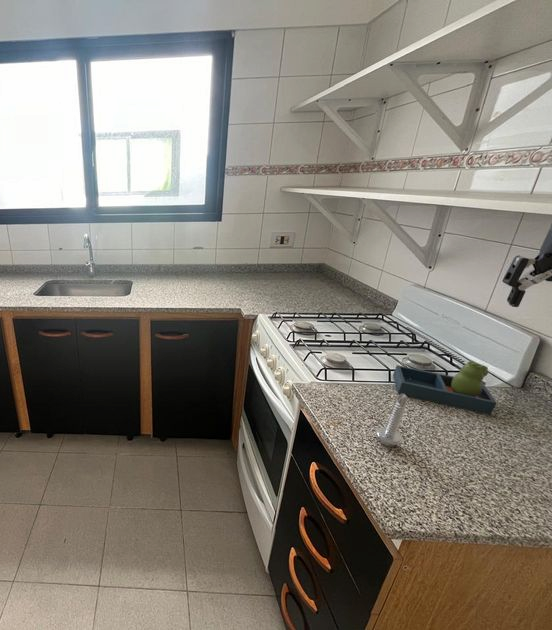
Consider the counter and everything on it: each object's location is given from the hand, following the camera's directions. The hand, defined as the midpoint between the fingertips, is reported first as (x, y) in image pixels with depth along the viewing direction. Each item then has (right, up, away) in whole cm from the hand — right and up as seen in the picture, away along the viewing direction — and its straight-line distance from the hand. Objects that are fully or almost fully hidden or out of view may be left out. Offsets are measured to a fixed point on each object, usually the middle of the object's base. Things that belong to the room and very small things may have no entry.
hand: (540, 308), depth 71 cm
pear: (0, -22, +17) cm, 28 cm away
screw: (-29, -29, +4) cm, 42 cm away
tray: (-4, -22, +20) cm, 30 cm away
